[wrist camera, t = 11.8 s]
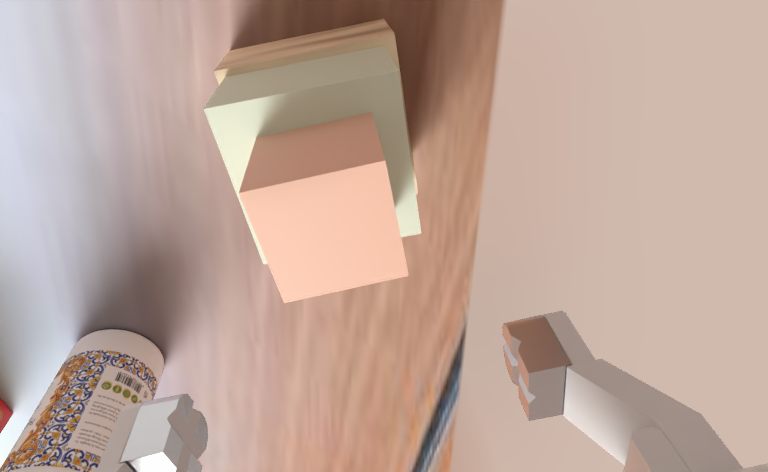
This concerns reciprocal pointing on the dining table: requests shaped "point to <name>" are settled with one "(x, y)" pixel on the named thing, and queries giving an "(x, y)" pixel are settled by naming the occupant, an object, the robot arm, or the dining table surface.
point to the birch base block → (314, 52)
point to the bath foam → (87, 402)
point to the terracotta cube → (324, 208)
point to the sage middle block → (317, 115)
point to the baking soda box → (4, 414)
